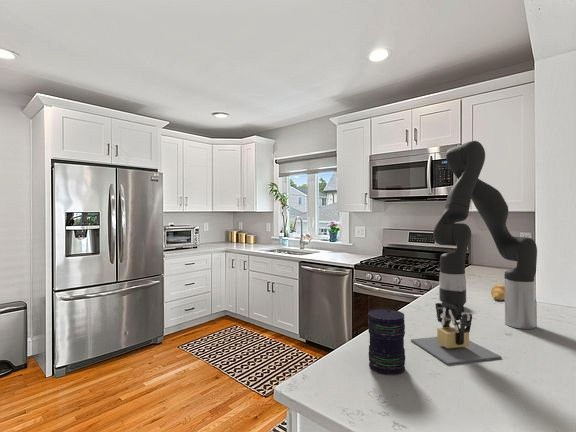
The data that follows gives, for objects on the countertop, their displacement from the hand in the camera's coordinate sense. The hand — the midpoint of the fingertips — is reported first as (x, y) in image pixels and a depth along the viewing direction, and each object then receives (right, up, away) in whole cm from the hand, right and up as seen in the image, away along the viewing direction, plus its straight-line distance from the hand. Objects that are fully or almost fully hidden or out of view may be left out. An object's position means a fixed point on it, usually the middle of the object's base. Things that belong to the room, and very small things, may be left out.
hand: (453, 340), depth 104 cm
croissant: (+56, -2, +62) cm, 83 cm away
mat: (0, -3, 0) cm, 3 cm away
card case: (0, -1, 0) cm, 1 cm away
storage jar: (-24, -3, -11) cm, 27 cm away
